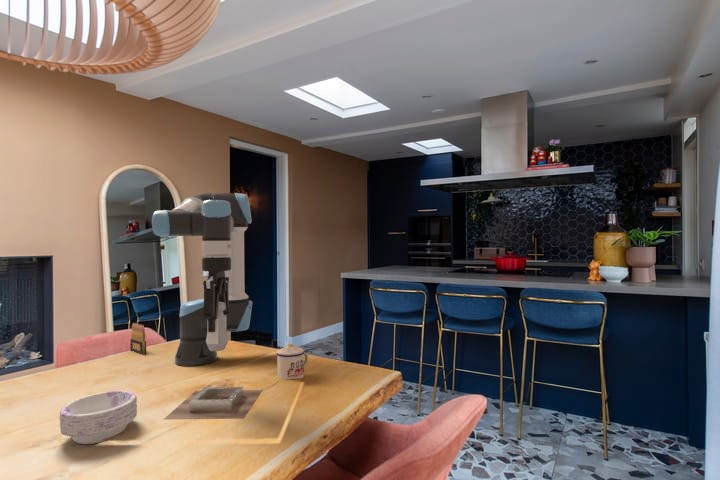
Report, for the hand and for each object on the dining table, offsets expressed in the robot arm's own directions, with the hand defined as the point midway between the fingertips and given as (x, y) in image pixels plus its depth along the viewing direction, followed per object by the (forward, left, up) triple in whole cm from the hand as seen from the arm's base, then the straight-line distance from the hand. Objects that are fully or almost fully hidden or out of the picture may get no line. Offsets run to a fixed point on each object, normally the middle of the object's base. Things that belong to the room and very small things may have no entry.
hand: (217, 340), depth 112 cm
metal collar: (0, 0, -17) cm, 17 cm away
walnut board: (0, 0, -18) cm, 18 cm away
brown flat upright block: (-60, -54, -18) cm, 83 cm away
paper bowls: (+16, -22, -18) cm, 33 cm away
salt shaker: (0, 0, -3) cm, 3 cm away
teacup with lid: (-25, +17, -18) cm, 35 cm away
